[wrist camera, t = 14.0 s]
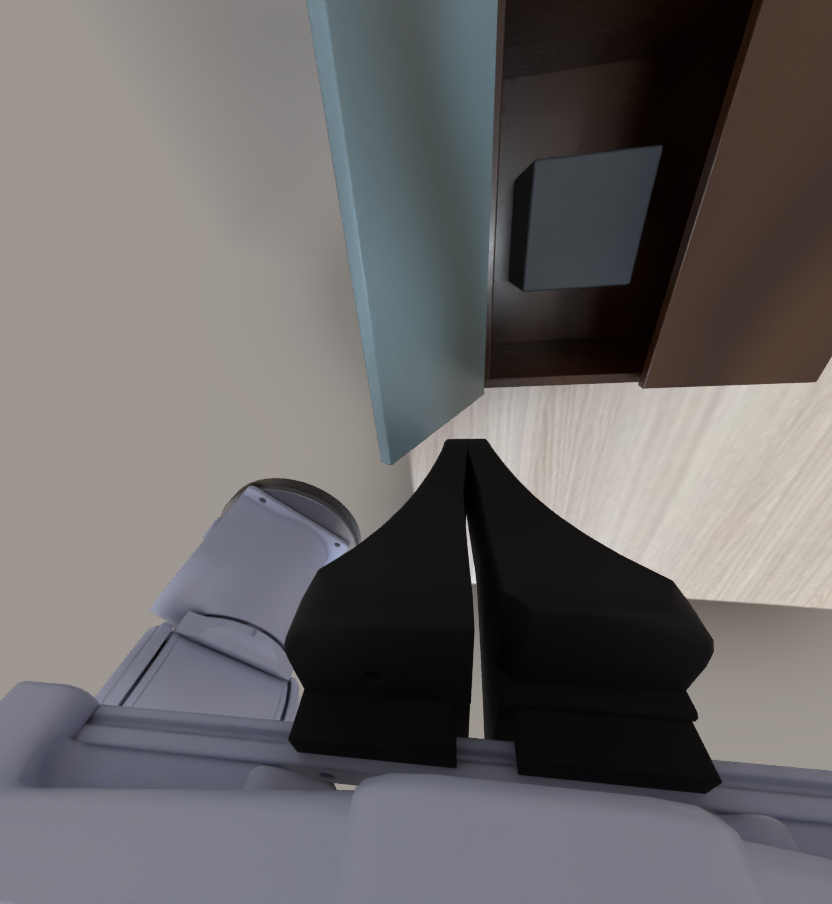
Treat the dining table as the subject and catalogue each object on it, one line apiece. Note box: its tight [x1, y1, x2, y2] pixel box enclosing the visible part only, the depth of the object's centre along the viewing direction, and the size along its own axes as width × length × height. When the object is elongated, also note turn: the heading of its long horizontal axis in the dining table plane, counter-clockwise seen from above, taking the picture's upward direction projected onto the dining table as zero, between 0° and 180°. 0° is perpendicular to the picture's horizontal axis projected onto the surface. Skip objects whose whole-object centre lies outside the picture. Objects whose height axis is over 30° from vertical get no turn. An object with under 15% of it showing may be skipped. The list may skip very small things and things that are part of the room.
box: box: [484, 0, 832, 388], centre depth 12 cm, size 12×11×7 cm
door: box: [306, 0, 498, 465], centre depth 8 cm, size 6×11×1 cm
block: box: [508, 145, 663, 292], centre depth 13 cm, size 4×4×4 cm
